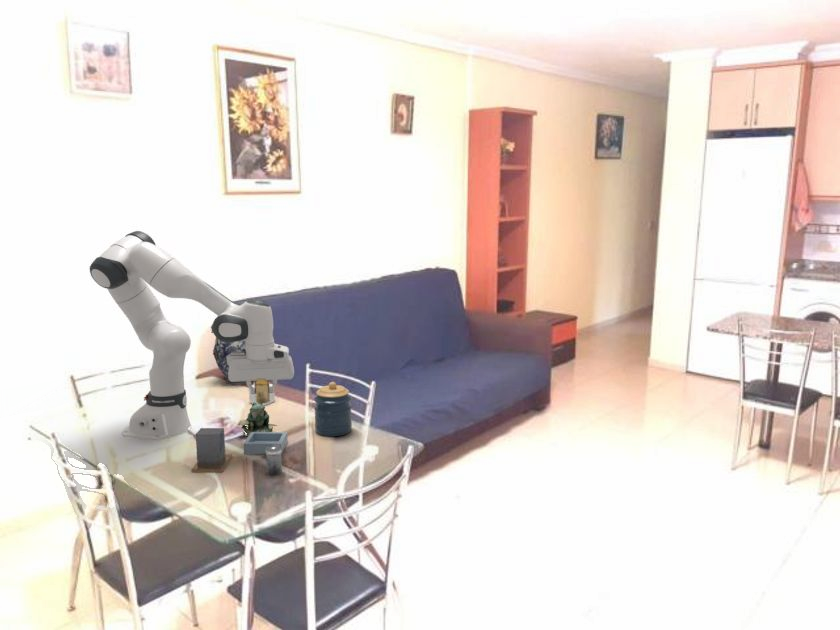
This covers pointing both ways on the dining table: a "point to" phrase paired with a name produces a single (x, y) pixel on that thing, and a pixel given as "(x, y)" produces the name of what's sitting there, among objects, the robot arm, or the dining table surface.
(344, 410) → the canister
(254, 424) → the frog figurine
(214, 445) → the block
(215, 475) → the dining table surface
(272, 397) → the medicine bottle
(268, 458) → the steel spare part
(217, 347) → the decorative vase
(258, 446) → the tray
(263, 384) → the gold lidded glass jar
